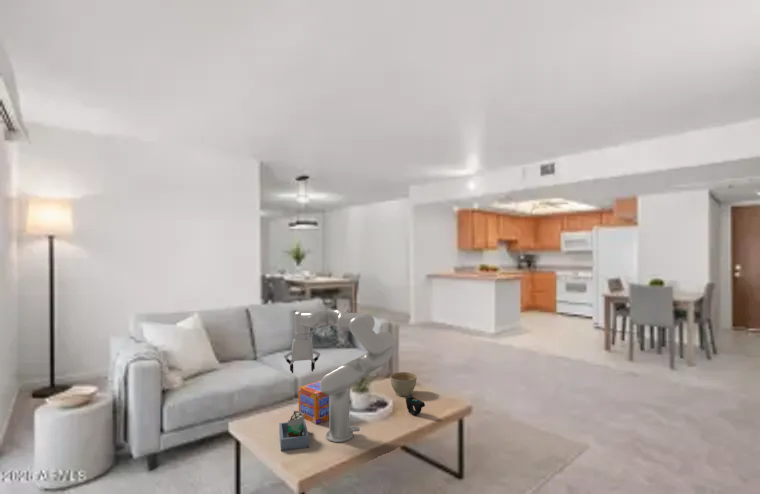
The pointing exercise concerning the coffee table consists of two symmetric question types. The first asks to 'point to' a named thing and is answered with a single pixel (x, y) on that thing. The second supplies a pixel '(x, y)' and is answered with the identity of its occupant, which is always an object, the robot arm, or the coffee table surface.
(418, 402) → the controller
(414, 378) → the planter bowl
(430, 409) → the coffee table surface
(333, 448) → the coffee table surface
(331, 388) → the robot arm
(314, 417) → the game box
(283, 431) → the bin
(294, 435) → the latticed semicircular wedge
